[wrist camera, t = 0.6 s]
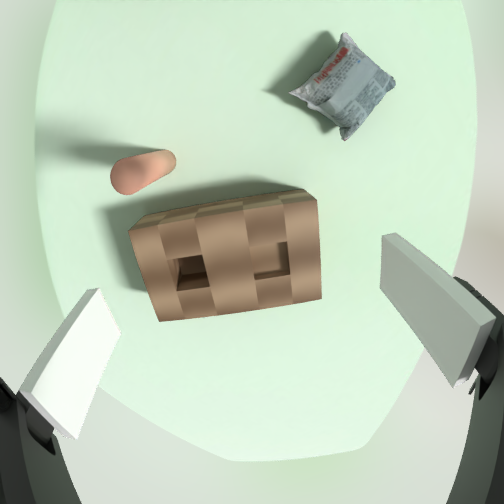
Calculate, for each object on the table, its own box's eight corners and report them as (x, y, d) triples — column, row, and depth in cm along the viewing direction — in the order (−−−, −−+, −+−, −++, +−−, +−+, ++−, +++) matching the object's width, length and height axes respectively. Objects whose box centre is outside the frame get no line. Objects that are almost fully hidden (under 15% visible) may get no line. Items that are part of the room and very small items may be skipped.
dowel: (150, 153, 30) (106, 163, 19) (173, 147, 30) (139, 153, 19) (154, 176, 31) (114, 198, 20) (178, 171, 31) (147, 190, 20)
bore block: (144, 215, 33) (127, 231, 27) (303, 188, 33) (316, 199, 27) (168, 296, 38) (159, 321, 32) (310, 275, 38) (321, 299, 32)
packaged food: (284, 95, 28) (292, 89, 24) (339, 35, 25) (355, 23, 20) (338, 141, 31) (355, 143, 26) (388, 81, 27) (409, 76, 23)
